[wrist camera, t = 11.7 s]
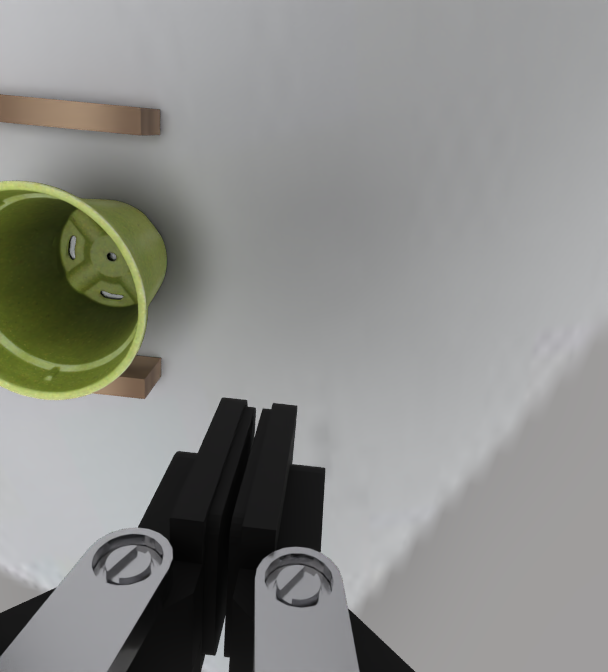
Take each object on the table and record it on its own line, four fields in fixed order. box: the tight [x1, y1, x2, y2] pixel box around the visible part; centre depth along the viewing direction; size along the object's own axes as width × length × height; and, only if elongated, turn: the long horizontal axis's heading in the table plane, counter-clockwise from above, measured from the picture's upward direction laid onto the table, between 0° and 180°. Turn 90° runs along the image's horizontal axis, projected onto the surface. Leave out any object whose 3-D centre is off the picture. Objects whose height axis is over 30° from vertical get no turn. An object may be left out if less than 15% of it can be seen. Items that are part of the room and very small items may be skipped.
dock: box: [0, 94, 161, 399], centre depth 30 cm, size 13×15×3 cm
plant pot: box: [0, 181, 167, 400], centre depth 27 cm, size 9×9×9 cm
